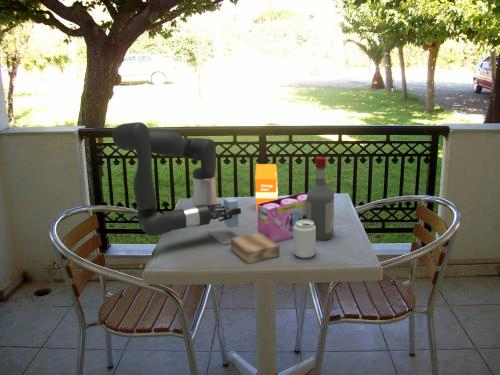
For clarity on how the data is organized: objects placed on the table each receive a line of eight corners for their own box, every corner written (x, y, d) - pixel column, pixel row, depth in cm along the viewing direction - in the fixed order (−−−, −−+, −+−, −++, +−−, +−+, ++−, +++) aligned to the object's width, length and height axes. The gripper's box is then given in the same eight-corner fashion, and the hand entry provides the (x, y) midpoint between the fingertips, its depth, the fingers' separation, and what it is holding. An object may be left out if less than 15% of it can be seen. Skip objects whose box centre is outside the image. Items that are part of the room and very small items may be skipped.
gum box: (307, 223, 208) (306, 191, 204) (320, 229, 201) (320, 196, 197) (257, 237, 195) (256, 203, 191) (269, 244, 189) (268, 209, 185)
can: (301, 261, 174) (301, 227, 171) (289, 253, 181) (289, 220, 177) (319, 256, 177) (320, 223, 174) (307, 248, 184) (307, 216, 180)
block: (229, 227, 194) (228, 202, 191) (224, 223, 198) (223, 198, 196) (238, 226, 196) (237, 200, 193) (232, 222, 200) (232, 197, 197)
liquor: (334, 232, 198) (335, 155, 189) (330, 241, 189) (331, 161, 181) (310, 230, 200) (310, 154, 192) (305, 239, 192) (305, 160, 183)
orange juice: (258, 205, 231) (257, 162, 225) (278, 205, 230) (277, 162, 224) (256, 211, 224) (254, 166, 218) (276, 211, 222) (275, 166, 216)
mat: (222, 244, 190) (222, 244, 189) (208, 232, 202) (208, 232, 202) (256, 237, 195) (256, 236, 195) (241, 225, 207) (241, 225, 207)
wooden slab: (248, 263, 174) (247, 252, 172) (231, 249, 186) (230, 238, 184) (279, 256, 179) (279, 245, 177) (260, 242, 191) (260, 232, 189)
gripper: (201, 212, 182) (245, 204, 189) (187, 201, 195) (229, 194, 202) (202, 232, 184) (245, 223, 191) (189, 220, 197) (230, 212, 204)
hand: (237, 208), depth 196 cm, fingers closed on block, 5 cm apart
